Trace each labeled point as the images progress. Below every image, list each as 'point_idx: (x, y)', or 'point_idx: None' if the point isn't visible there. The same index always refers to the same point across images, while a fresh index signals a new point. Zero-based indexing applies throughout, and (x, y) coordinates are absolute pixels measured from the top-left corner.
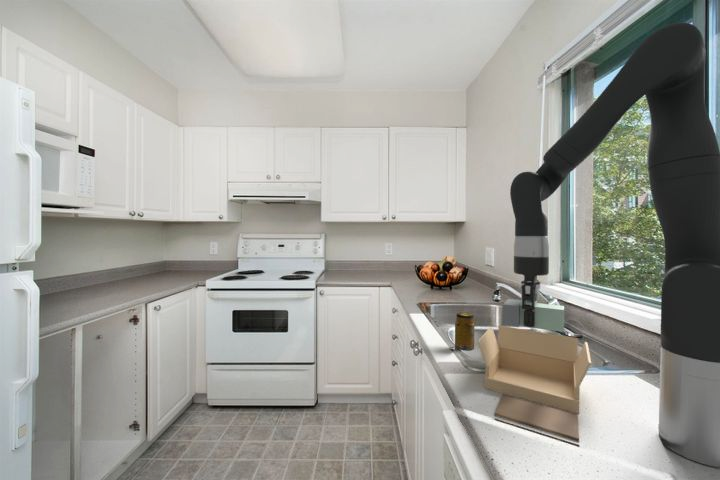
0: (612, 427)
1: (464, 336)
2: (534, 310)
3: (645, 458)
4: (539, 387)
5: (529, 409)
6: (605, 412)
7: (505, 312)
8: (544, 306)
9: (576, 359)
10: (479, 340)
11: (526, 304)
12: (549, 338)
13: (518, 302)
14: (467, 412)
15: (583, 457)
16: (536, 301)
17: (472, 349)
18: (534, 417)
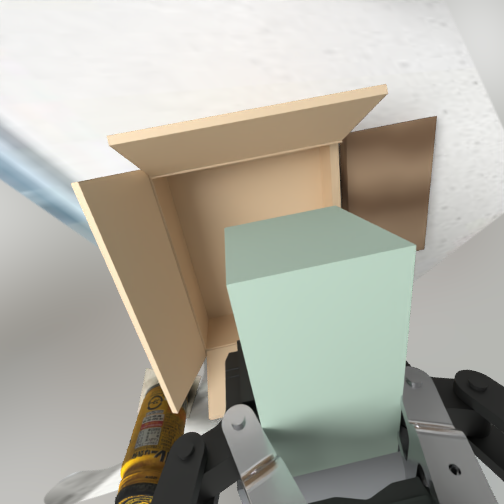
0: (317, 70)
1: (179, 429)
2: (426, 373)
3: (400, 5)
4: None
5: (380, 210)
6: (256, 89)
7: None
8: (358, 368)
9: (154, 170)
10: None
11: (484, 431)
12: (134, 271)
13: (321, 479)
14: (413, 281)
15: (450, 107)
16: (446, 427)
17: None
18: (404, 195)
